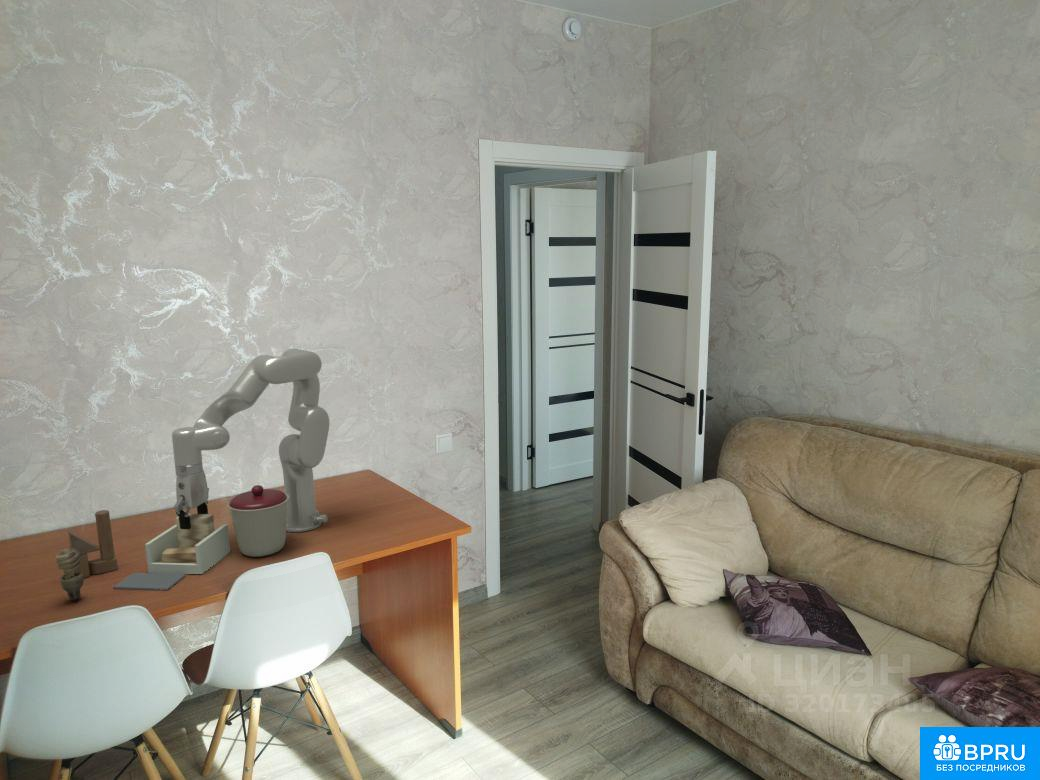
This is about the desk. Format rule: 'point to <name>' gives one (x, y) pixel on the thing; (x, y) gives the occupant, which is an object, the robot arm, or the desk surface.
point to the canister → (259, 520)
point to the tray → (205, 551)
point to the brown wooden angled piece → (96, 547)
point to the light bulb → (70, 572)
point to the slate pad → (149, 581)
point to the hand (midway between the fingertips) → (194, 523)
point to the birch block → (195, 530)
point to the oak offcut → (179, 555)
